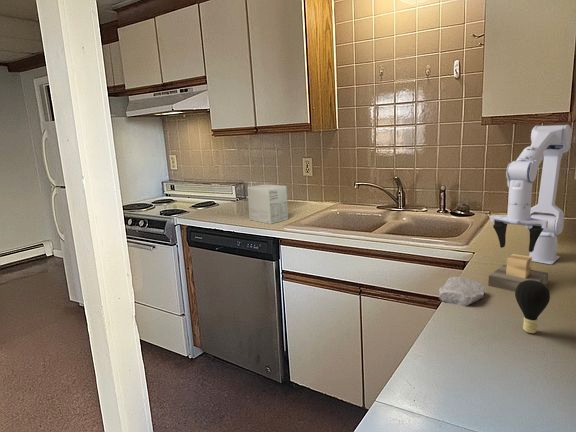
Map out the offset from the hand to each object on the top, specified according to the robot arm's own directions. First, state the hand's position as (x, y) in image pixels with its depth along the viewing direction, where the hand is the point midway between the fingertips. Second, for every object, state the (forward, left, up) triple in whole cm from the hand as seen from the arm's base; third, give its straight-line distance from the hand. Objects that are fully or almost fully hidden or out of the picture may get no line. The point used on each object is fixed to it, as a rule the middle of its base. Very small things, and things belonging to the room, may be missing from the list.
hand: (516, 248), depth 122 cm
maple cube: (+3, +2, -7) cm, 7 cm away
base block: (+3, +2, -10) cm, 10 cm away
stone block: (+21, -6, -10) cm, 24 cm away
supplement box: (-15, -125, -10) cm, 126 cm away
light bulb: (+31, +13, -10) cm, 35 cm away
